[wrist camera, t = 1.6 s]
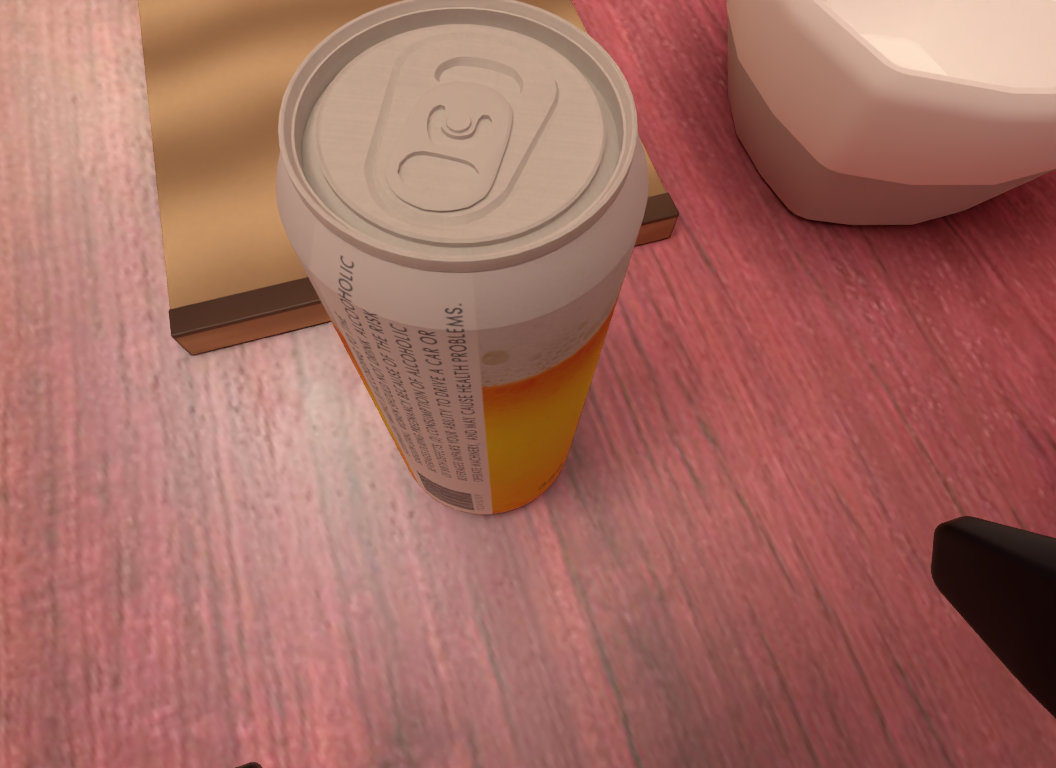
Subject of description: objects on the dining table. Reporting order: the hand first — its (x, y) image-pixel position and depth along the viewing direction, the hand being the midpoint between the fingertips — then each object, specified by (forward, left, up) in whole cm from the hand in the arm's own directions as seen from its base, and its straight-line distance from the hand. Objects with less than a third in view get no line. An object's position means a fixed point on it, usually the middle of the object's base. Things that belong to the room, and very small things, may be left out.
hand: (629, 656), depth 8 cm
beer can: (+7, +3, -14) cm, 16 cm away
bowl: (+25, -12, -14) cm, 31 cm away
